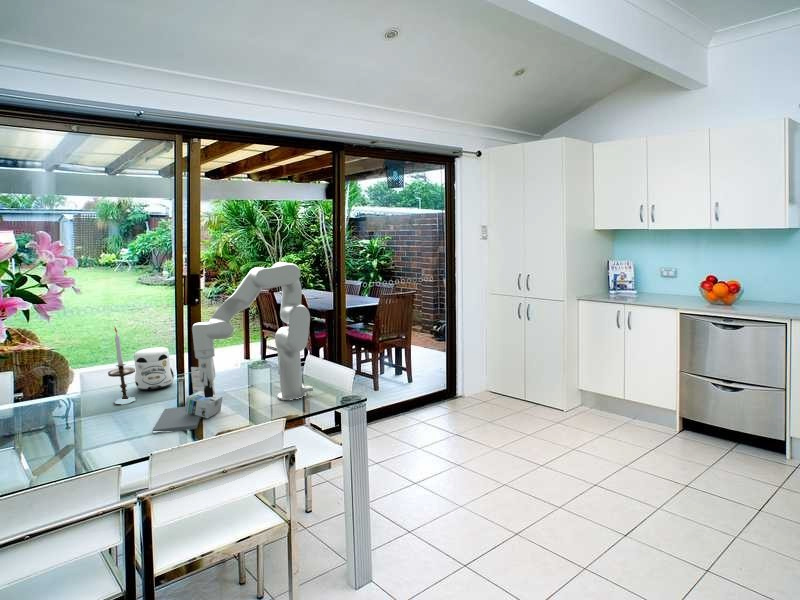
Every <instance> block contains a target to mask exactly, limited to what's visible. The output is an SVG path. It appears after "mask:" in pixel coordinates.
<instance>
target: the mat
mask: <svg viewBox="0 0 800 600" xmlns="http://www.w3.org/2000/svg"><path fill="white" fill-rule="evenodd" d="M184 410H185V406H180V407H170V408H164V410H163V411H162V413H161V415H160V417H159V418H158V420H157V422H156V424H155V425H154V427H153V428H152V432H153V431H173V432H179V431H187V430H188V431H189V430H197V428H198V426H199V424H200V421H201V420H202V417H201V416H198V415H194V414H190V413H187V412H184Z"/></svg>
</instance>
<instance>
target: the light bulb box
mask: <svg viewBox="0 0 800 600" xmlns="http://www.w3.org/2000/svg"><path fill="white" fill-rule="evenodd" d="M223 397H224V396H222V395H217V394H215V395H214V394H213V397H207V398H205V394H204V392H203V391H199V392H197V393H195V394H193V393H192V394H191V395H188V396H186V399H185V404H184V407H185V410H184V412H187V413H190V414H194V415H198V416H201V418H205V419H209V418H210V417H212V416H214V415H215V414H217V413H219V412H221V408H222V403H223Z"/></svg>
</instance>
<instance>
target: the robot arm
mask: <svg viewBox="0 0 800 600" xmlns="http://www.w3.org/2000/svg"><path fill="white" fill-rule="evenodd" d="M301 275H302V274H301V269H300V267H299V266H298V265H297V264H295V263H291V262H285V261H284V262H283V261H279V262H275V263H274V264H273V265H272V267H260V266H257V267H253V268H251V269H250V270H249V272H248V273H247V275H246V276H245V277H244V278H243V280H242V281H241V282H240V284H238V286H237V288H236V290H235V291H234V292H233V293H232V295H230V296H229V297H228V298H227V299H226V300H224V301H223V302H222V304H220V306H218V307H217V309H216V310H215V311H214V313H213V314H212V315H211V317H210V318H209V320H208V321H201V322H196V323H194V324H193V325H192V327H191V331H192V339H193V341H192V342H193V351H194V357H195V359H197V360H198V367H199V369H198V371H199V374H200V381H201V382H202V383H204V394H205V398H207V397H213V386H212V382H213V381H215V378H216V369H215V361H214V357H215V356H216V354H215V345H214V340H225V339H229V338H230V337H231V336H232V335H233V333H234V329H235V328H234V325H233V324H232V323H231V322H230V321H231V320H232V319H233V317H234V316H235V315H236V314H238V313H239V312H241V311H243V310H246V309H248V308H250V307H252V304H253V303H254V301H255V300H256V299H257V297H258V296H259V295H260V293H261V292H262V290H263V289H264V290H266V289H274V288H279V287H281V300H280V301H281V304H280V309H279V310H280V311H279V316H280V319H281V321H282V322H283V323H285V324H287V325H288V326H282V327H280V328H279V329H278V330H277V331H276V333H275V334H274V343H275V347H276V351H277V358H278V372H279V383H280V393H278V394H277V398H279V399H278V400H280V399H281V401H284V400H290V399H296V398H299V397H302V396H304V395H305V394H306V395H307V392H313V391H314V387H313V386H310V385H307V386H305V385H304V384H303V379H302V378H303V376H302V363H301V361H302V360H301V353H300V352H302V351H304V349H305V348H306V346H307V345H308V340H309V334H310V326H311V325H310V323H311V314H310V311H309V309H308V308H307V307H306V306H305V305H303V304H302V295H303V293H302V292H303V291H302V290H303V289H302V284H301V281H300V278H301Z"/></svg>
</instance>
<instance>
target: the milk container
mask: <svg viewBox="0 0 800 600" xmlns="http://www.w3.org/2000/svg"><path fill="white" fill-rule="evenodd" d="M133 356H134V357H133V360H134V366H135V375H134V383H135V386H136V388H137V389H139V390H143V391H152V390H153V391H155V390H160V389H164V388H166V387H169V386H170V385H172V384H173V383H174V377H175V376H174V371H173V369H172V365H171V357H170V352H169V348H167V347H150V348H142V349H140V350H137V351H135V352H134V354H133ZM154 389H155V390H154Z"/></svg>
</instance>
